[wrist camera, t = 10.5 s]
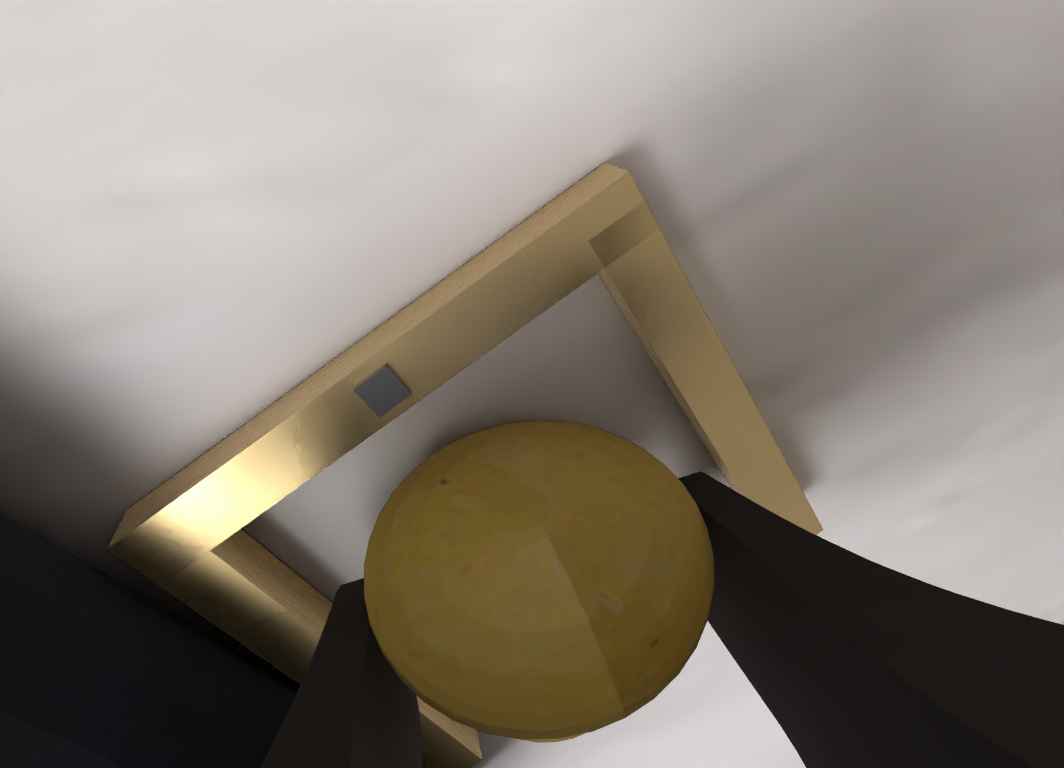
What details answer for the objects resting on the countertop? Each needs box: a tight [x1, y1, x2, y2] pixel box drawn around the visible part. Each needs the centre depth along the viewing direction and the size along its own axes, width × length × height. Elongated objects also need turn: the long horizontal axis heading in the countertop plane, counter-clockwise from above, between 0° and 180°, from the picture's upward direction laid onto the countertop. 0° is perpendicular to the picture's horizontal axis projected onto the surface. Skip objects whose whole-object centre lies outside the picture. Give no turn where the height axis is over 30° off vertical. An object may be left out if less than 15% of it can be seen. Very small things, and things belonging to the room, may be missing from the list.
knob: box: [364, 420, 714, 742], centre depth 11 cm, size 5×5×5 cm
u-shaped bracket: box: [107, 162, 823, 768], centre depth 12 cm, size 8×10×1 cm
